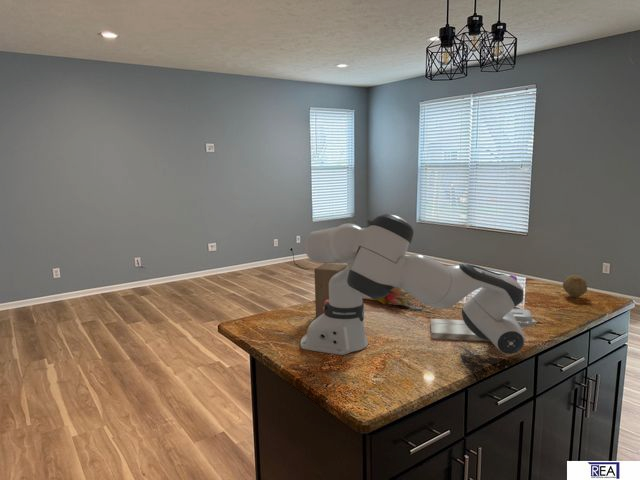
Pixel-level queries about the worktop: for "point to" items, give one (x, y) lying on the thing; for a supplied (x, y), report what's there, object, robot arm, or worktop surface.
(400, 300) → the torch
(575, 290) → the natural sponge
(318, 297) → the wooden block
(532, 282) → the worktop surface
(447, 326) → the birch board
